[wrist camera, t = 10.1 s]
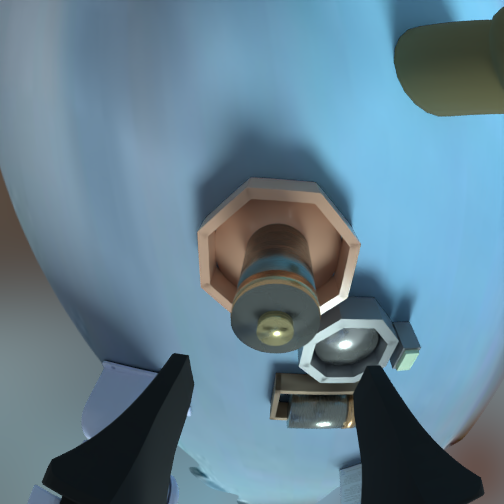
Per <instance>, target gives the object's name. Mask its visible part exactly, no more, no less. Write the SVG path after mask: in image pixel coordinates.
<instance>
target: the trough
mask: <svg viewBox="0 0 504 504" xmlns="http://www.w3.org/2000/svg"><path fill="white" fill-rule="evenodd" d="M359 381H360V380H359ZM359 381H357V382H355V383H320V382H318V381H317V380H316V379H314V378H313V377H312V376H310V375H309V374H289V373H276V376H275V382H274V388H273V394H272V400H271V408H270V419H272V420H287V408H288V402H279V398H280V393H281V394H307V395H343V394H353V392H354V391H355V389H356V387H357V385H358V383H359Z"/></svg>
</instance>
